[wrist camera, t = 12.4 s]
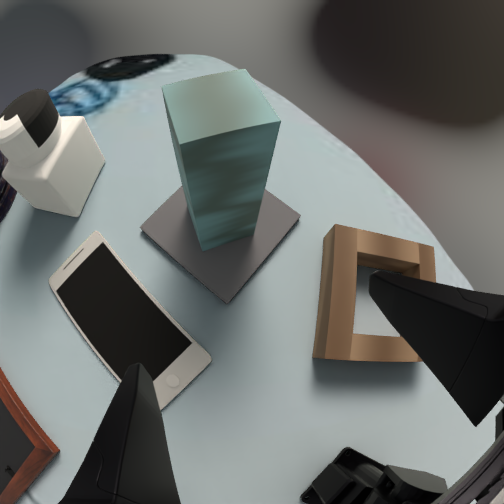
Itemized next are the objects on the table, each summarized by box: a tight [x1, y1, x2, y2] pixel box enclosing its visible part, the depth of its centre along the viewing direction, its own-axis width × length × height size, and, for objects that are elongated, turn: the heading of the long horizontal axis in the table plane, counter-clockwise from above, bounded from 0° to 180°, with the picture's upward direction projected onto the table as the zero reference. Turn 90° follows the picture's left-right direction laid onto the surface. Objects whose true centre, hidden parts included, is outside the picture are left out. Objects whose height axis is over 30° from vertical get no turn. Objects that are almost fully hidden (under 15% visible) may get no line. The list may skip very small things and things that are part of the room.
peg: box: [162, 69, 281, 251], centre depth 18 cm, size 4×4×13 cm
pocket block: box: [312, 224, 436, 362], centre depth 22 cm, size 10×10×3 cm
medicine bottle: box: [0, 89, 105, 217], centre depth 19 cm, size 7×7×12 cm
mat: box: [140, 186, 301, 304], centre depth 24 cm, size 10×10×1 cm
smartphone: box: [49, 231, 212, 410], centre depth 21 cm, size 7×15×1 cm, turn 47°
